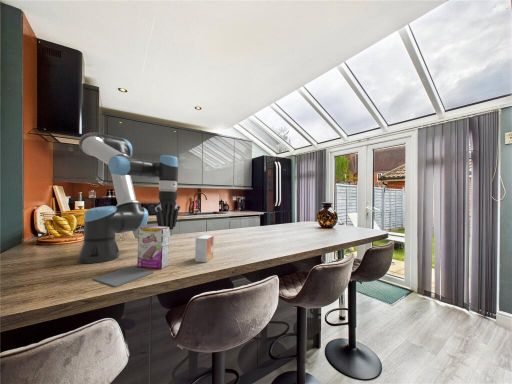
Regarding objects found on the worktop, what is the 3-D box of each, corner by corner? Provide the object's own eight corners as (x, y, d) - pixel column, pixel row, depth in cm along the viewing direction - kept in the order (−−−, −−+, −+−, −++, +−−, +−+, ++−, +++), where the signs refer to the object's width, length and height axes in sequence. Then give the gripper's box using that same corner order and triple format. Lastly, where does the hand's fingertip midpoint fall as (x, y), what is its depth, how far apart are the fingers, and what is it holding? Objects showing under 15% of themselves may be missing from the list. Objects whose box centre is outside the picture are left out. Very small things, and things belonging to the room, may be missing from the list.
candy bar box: (136, 267, 87) (137, 227, 87) (144, 263, 92) (145, 225, 92) (161, 269, 85) (162, 228, 85) (168, 265, 90) (169, 226, 90)
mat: (92, 279, 74) (92, 278, 74) (131, 267, 87) (131, 266, 87) (115, 287, 68) (115, 286, 68) (153, 273, 81) (153, 272, 81)
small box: (206, 262, 95) (206, 238, 95) (194, 261, 96) (195, 238, 96) (213, 257, 103) (214, 235, 103) (202, 256, 104) (203, 234, 104)
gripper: (162, 190, 88) (160, 248, 87) (185, 191, 99) (183, 242, 99) (149, 190, 91) (147, 246, 90) (173, 191, 103) (171, 240, 102)
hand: (166, 244), depth 95 cm, fingers closed
